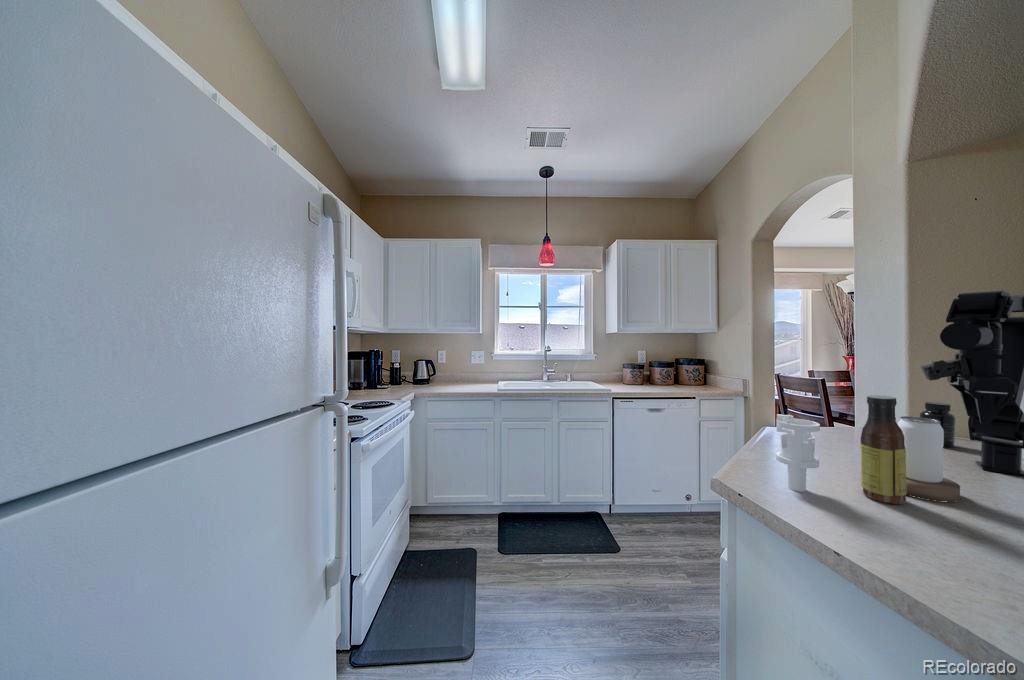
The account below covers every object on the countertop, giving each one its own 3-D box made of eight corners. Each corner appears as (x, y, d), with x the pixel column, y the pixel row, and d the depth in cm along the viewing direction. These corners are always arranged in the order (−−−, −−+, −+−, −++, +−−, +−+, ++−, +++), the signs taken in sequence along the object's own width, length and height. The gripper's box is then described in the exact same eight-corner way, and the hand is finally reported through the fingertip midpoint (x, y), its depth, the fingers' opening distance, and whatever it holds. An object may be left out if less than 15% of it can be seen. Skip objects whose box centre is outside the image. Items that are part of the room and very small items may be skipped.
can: (952, 485, 72) (954, 424, 72) (912, 482, 74) (914, 422, 73) (923, 473, 78) (925, 416, 78) (887, 470, 80) (888, 415, 80)
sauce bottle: (893, 494, 74) (895, 394, 74) (915, 508, 68) (917, 400, 68) (852, 489, 76) (854, 393, 76) (870, 502, 70) (872, 398, 70)
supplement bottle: (911, 441, 110) (912, 401, 110) (932, 440, 111) (933, 400, 110) (940, 448, 103) (941, 405, 103) (962, 448, 104) (963, 405, 104)
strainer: (775, 479, 82) (776, 411, 81) (816, 486, 78) (818, 415, 77) (775, 490, 76) (776, 417, 76) (820, 499, 72) (821, 422, 71)
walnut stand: (877, 475, 84) (877, 464, 84) (951, 488, 77) (952, 476, 77) (883, 491, 75) (883, 479, 75) (967, 508, 68) (967, 494, 68)
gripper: (917, 346, 94) (915, 408, 94) (934, 349, 79) (932, 422, 80) (987, 348, 86) (985, 415, 87) (1020, 351, 72) (1017, 431, 72)
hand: (977, 420), depth 82 cm, fingers open, 9 cm apart
